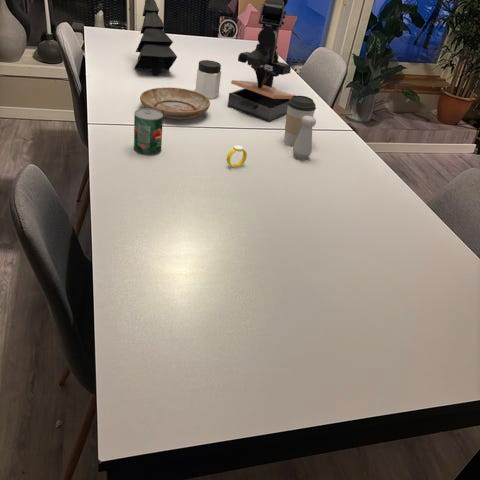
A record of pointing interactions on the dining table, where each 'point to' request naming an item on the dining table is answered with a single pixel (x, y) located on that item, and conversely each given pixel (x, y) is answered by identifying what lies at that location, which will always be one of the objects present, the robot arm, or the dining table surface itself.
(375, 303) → the dining table surface
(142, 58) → the decorative tree
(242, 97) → the dark grey flat box
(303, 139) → the salt shaker
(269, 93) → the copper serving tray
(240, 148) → the gold ring
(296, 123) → the coffee cup
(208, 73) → the jar
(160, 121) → the canned tomato
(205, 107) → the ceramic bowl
